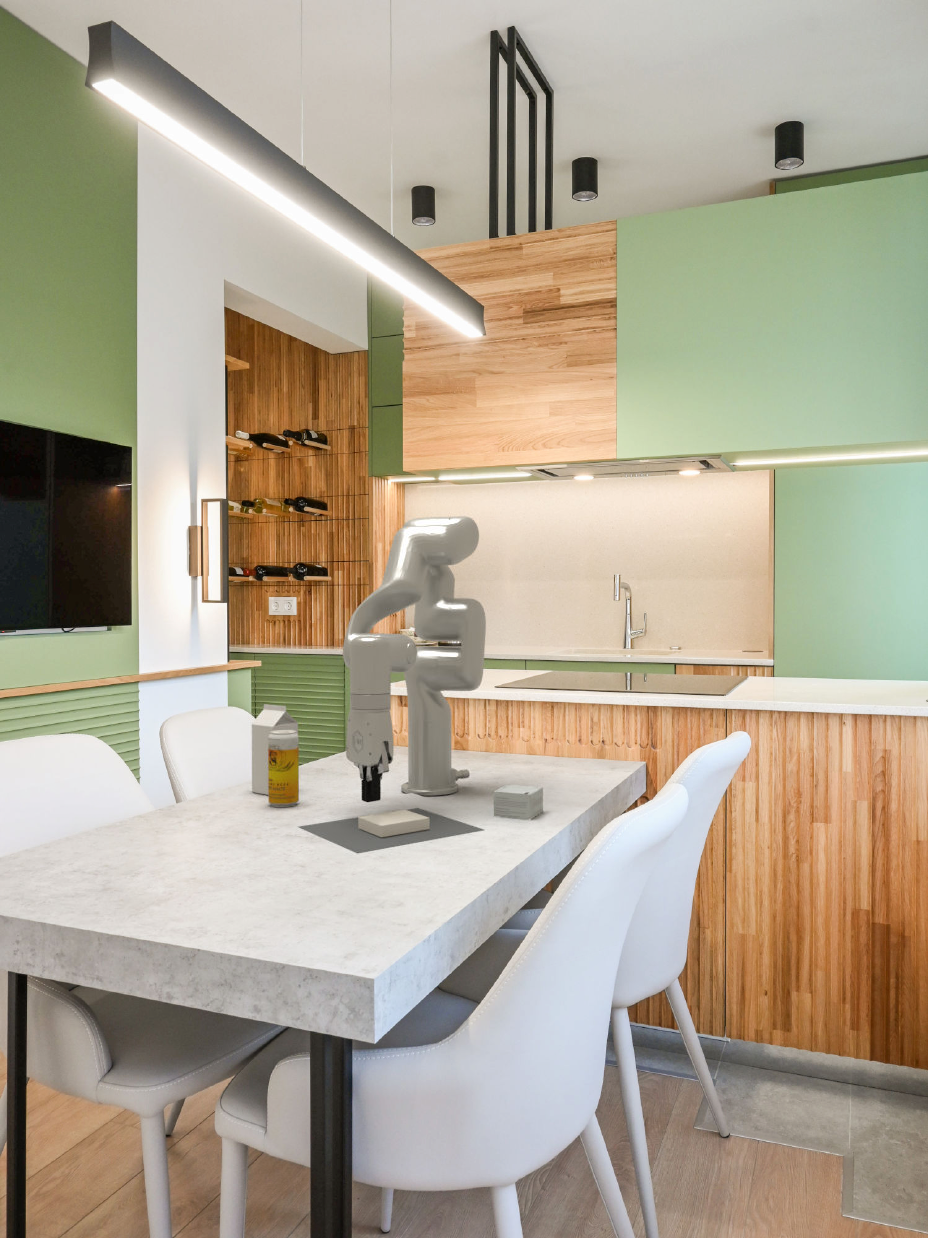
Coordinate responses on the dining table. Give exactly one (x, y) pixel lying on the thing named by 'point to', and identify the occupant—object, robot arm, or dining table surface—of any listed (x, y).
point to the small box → (518, 801)
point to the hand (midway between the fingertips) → (371, 800)
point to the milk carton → (266, 742)
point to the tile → (393, 823)
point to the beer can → (283, 768)
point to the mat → (363, 841)
